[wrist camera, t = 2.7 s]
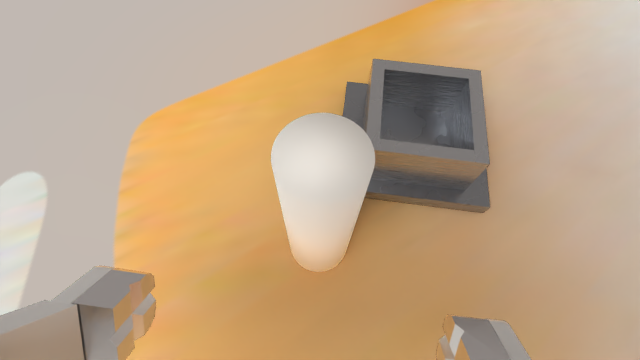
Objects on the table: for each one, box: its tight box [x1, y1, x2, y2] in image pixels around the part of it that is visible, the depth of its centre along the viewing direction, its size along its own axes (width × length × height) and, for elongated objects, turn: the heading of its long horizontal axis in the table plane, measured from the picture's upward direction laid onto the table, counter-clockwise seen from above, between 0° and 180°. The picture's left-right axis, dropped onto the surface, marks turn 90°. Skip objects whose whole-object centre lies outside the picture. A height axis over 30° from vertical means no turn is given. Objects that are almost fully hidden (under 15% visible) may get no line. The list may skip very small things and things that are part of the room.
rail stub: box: [271, 113, 375, 272], centre depth 17 cm, size 4×4×11 cm
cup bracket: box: [343, 59, 490, 213], centre depth 23 cm, size 10×9×4 cm
